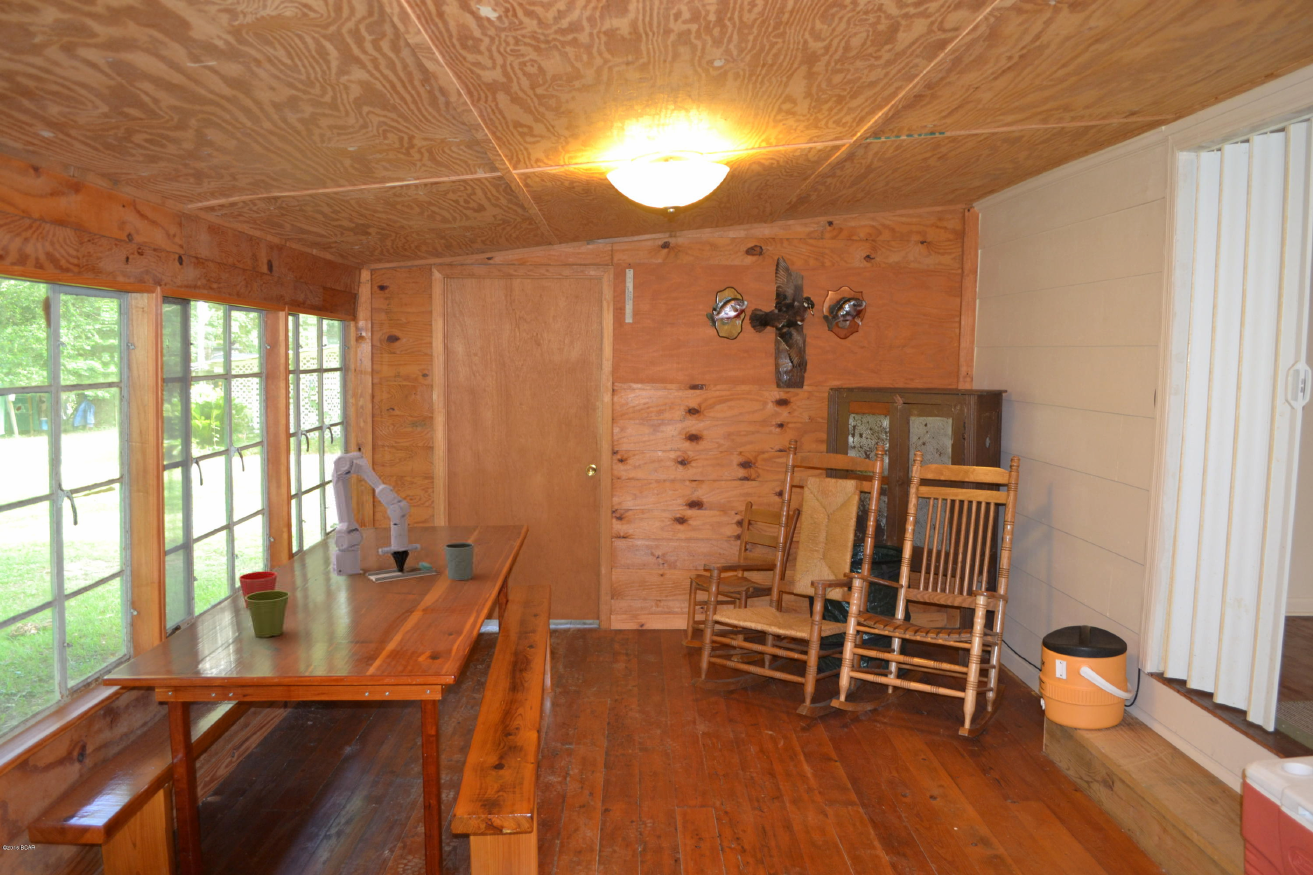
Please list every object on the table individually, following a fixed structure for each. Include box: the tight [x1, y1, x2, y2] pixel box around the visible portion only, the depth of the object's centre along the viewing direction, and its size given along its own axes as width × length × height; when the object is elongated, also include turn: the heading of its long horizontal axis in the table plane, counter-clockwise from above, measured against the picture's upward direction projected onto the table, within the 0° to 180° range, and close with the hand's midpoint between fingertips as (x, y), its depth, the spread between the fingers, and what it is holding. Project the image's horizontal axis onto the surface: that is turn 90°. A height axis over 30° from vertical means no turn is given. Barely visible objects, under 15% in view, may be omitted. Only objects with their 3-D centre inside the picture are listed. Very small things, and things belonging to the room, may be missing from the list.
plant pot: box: [244, 589, 291, 638], centre depth 250 cm, size 12×12×11 cm
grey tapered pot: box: [444, 541, 475, 582], centre depth 314 cm, size 10×10×12 cm
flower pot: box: [238, 570, 278, 609], centre depth 279 cm, size 11×11×10 cm
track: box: [365, 561, 437, 583], centre depth 317 cm, size 22×12×3 cm, turn 126°
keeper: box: [401, 564, 422, 574], centre depth 319 cm, size 6×5×2 cm
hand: (400, 571), depth 317 cm, fingers closed
